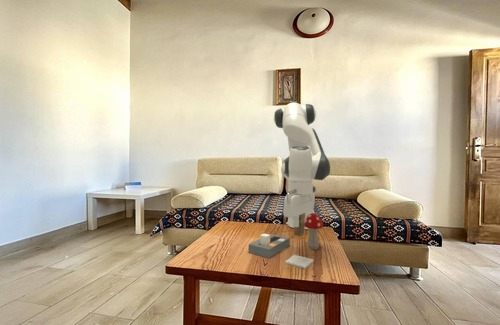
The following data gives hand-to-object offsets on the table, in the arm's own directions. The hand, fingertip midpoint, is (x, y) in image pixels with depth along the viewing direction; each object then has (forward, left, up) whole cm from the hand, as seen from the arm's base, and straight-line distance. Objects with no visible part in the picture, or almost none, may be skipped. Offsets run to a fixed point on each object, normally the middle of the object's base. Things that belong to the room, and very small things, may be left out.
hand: (299, 225), depth 90 cm
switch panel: (-5, -16, -14) cm, 22 cm away
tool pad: (0, 0, -14) cm, 14 cm away
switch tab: (-1, -16, -12) cm, 20 cm away
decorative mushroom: (-19, -2, -14) cm, 24 cm away
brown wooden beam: (0, 0, -4) cm, 4 cm away
